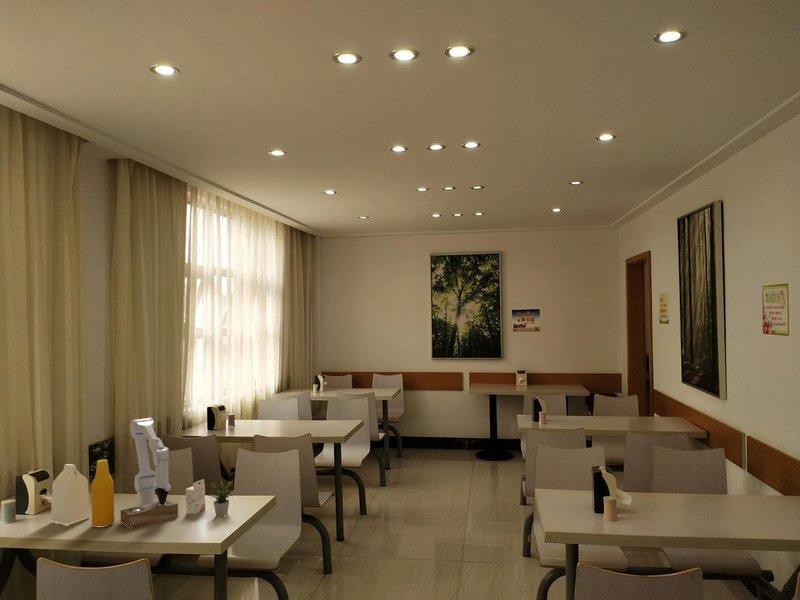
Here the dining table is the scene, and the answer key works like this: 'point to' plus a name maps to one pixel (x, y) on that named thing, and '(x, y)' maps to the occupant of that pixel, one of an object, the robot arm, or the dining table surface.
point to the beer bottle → (102, 496)
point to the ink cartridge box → (195, 498)
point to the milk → (70, 496)
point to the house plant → (221, 500)
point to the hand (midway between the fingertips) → (162, 504)
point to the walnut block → (149, 513)
